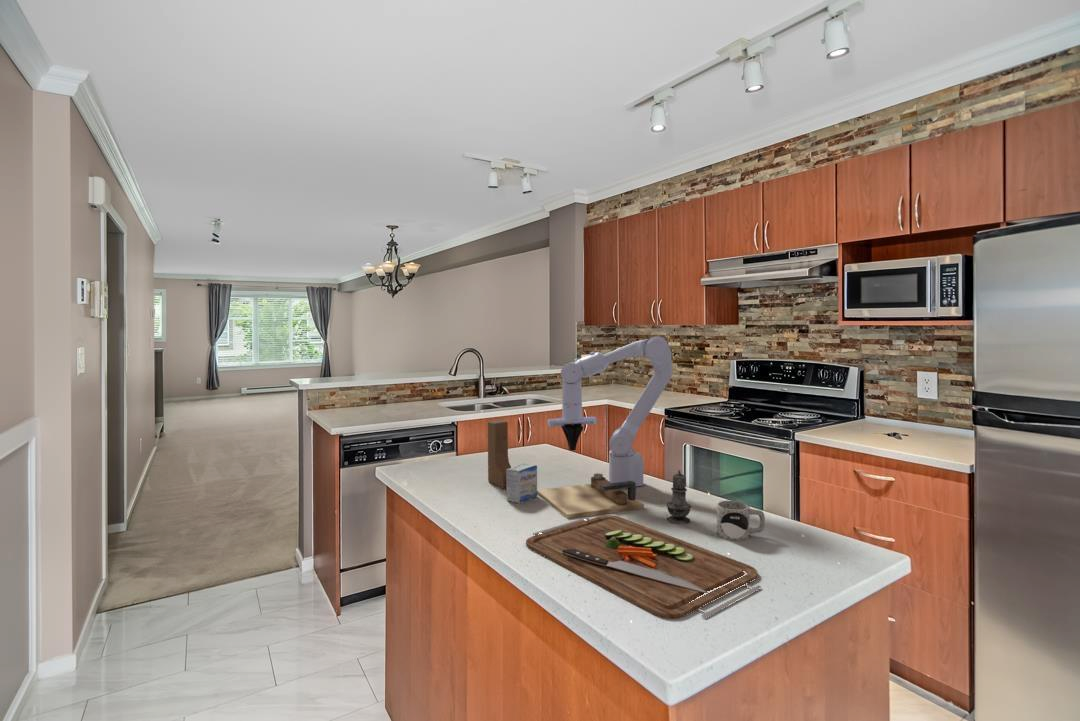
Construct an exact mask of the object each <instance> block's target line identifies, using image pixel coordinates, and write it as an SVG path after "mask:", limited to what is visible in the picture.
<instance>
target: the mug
mask: <svg viewBox="0 0 1080 721" xmlns="http://www.w3.org/2000/svg"><path fill="white" fill-rule="evenodd" d="M716 506H717V507H716V535H717V537H719V538H721V539H724V540H726V541H727V540H728V541H732V542H733V541H734V542H742V541H743V540H744V541H746V539H747V540H749V538H750V534H757V533H762V532H763V531H764V530H765V525H766V524H765V523H766V517H765V513H764V512H763V511H762V510H758V509H754V508H750V505H749V504H747V503H745V502H743V501H737V500H720V501H718V502H717V503H716ZM754 515H756V516H758V517H759V526H758V527H751V526H750V516H754Z"/></svg>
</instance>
